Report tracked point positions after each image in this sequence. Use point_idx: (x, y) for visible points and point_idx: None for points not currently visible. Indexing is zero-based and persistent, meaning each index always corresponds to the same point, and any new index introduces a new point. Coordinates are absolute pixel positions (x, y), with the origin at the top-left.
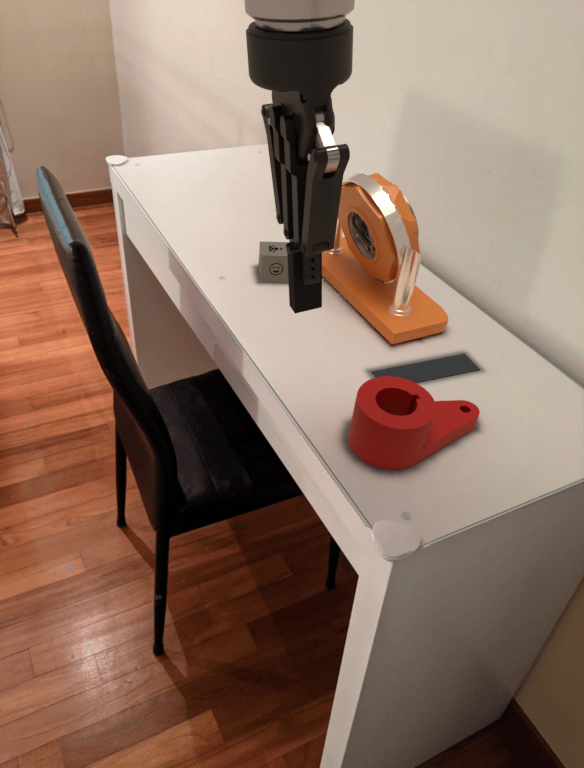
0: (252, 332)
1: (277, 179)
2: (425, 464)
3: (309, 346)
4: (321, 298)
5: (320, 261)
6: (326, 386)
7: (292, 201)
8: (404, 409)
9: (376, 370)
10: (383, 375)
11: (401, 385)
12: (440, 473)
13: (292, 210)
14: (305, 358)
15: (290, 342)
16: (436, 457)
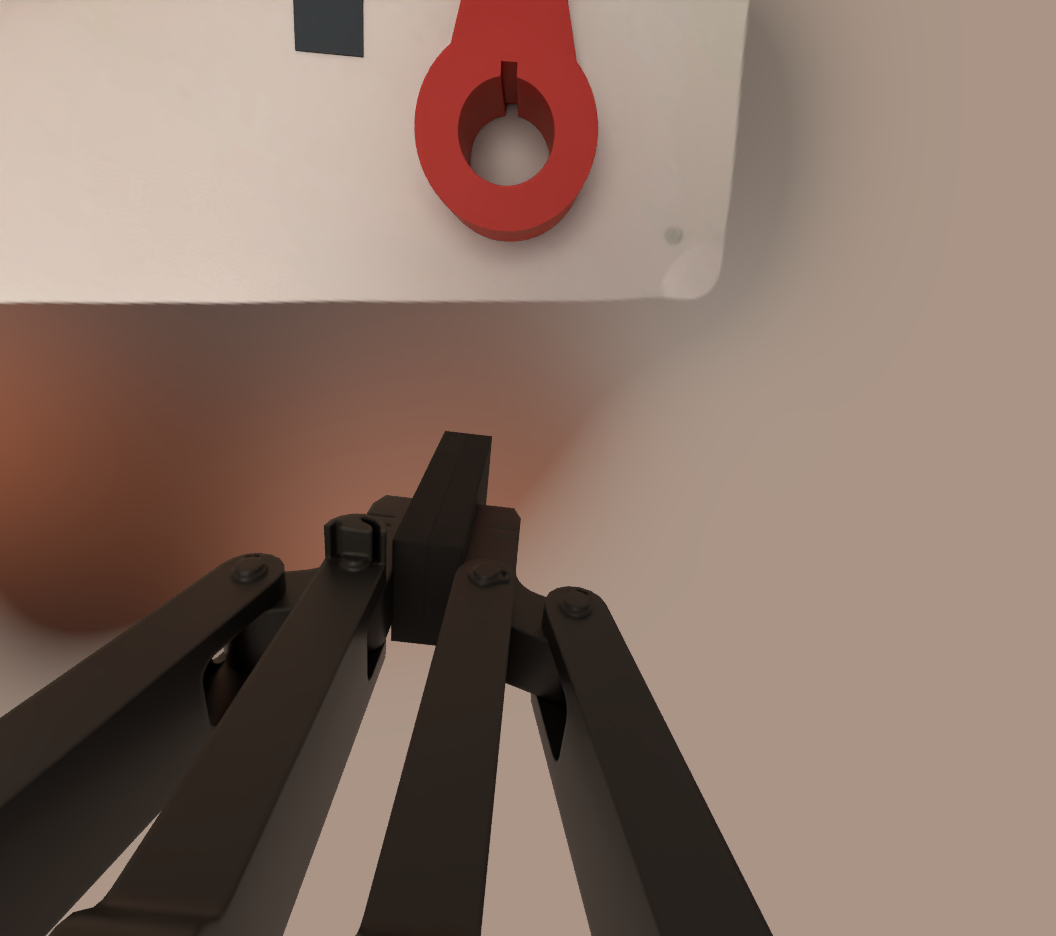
0: (96, 265)
1: (142, 828)
2: None
3: (170, 154)
4: (487, 448)
5: (472, 515)
6: (319, 192)
7: (336, 768)
8: (493, 96)
9: (295, 34)
10: (317, 27)
11: (460, 80)
12: (623, 102)
13: (352, 729)
14: (214, 188)
15: (148, 194)
16: None
